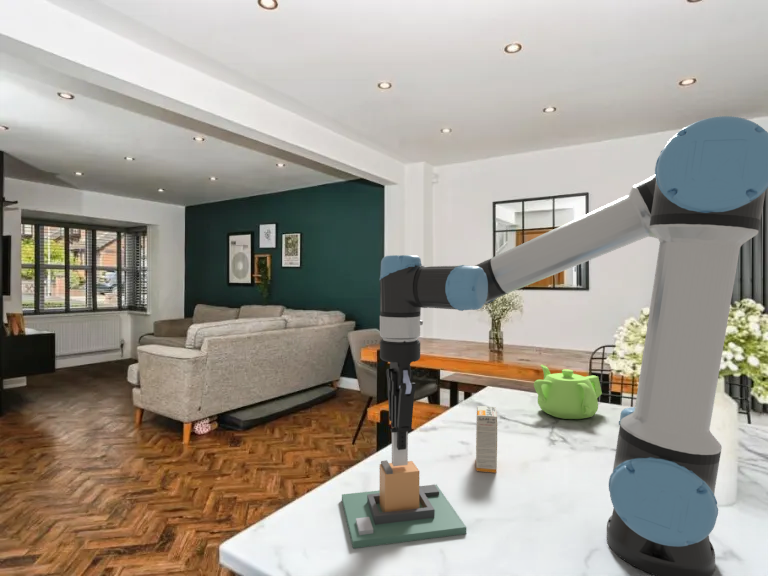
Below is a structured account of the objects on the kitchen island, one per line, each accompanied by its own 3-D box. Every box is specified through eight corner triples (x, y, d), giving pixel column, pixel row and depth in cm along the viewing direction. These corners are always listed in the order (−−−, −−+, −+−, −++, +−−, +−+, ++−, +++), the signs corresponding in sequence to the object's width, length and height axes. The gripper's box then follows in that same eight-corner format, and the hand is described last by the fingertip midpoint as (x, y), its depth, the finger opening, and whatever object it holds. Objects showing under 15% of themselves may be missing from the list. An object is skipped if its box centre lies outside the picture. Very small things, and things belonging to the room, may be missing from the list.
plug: (419, 513, 82) (419, 467, 82) (385, 518, 80) (385, 471, 80) (412, 501, 86) (412, 457, 86) (379, 505, 85) (379, 461, 84)
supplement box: (497, 473, 101) (498, 416, 101) (476, 471, 102) (476, 415, 102) (495, 458, 109) (496, 406, 109) (475, 457, 110) (476, 405, 110)
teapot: (594, 427, 132) (594, 379, 132) (526, 415, 143) (526, 371, 143) (602, 410, 148) (602, 368, 148) (540, 401, 159) (540, 361, 158)
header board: (466, 533, 78) (466, 518, 77) (353, 548, 73) (353, 532, 73) (436, 490, 93) (436, 477, 93) (341, 500, 89) (341, 487, 89)
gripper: (430, 343, 77) (429, 477, 77) (410, 333, 89) (409, 448, 90) (388, 344, 75) (387, 481, 76) (373, 334, 88) (373, 451, 89)
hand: (399, 463), depth 83 cm, fingers closed
